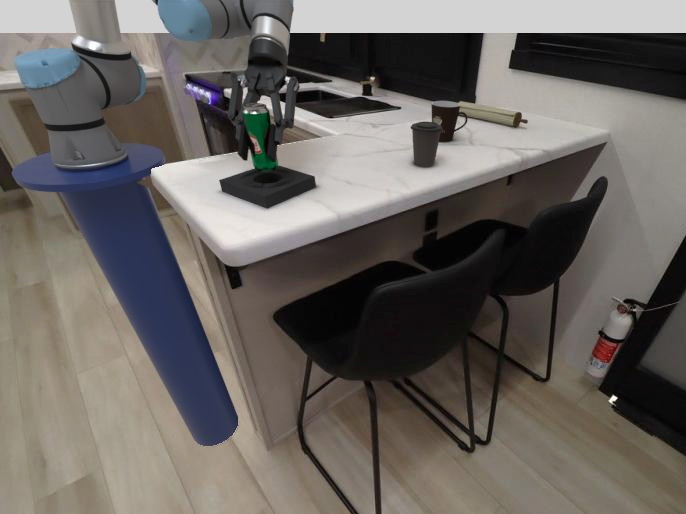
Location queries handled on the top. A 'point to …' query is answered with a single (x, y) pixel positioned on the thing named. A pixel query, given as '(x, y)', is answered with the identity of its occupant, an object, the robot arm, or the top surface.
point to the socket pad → (268, 185)
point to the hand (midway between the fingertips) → (257, 157)
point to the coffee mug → (446, 118)
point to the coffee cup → (425, 142)
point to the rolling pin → (492, 113)
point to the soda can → (258, 135)
